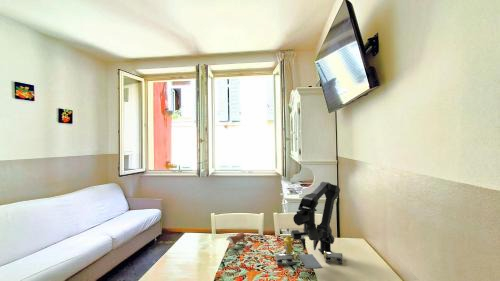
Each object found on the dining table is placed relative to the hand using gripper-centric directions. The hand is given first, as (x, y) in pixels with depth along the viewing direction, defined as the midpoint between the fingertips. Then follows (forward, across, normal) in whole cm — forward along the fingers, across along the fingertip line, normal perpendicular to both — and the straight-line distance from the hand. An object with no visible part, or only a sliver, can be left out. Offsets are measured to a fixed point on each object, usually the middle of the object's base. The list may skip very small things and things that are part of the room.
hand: (309, 250), depth 125 cm
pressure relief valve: (+6, -11, +8) cm, 15 cm away
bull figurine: (+6, -38, +23) cm, 45 cm away
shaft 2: (+6, +12, -2) cm, 14 cm away
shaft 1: (+6, -13, 0) cm, 14 cm away
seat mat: (+6, 0, 0) cm, 6 cm away
